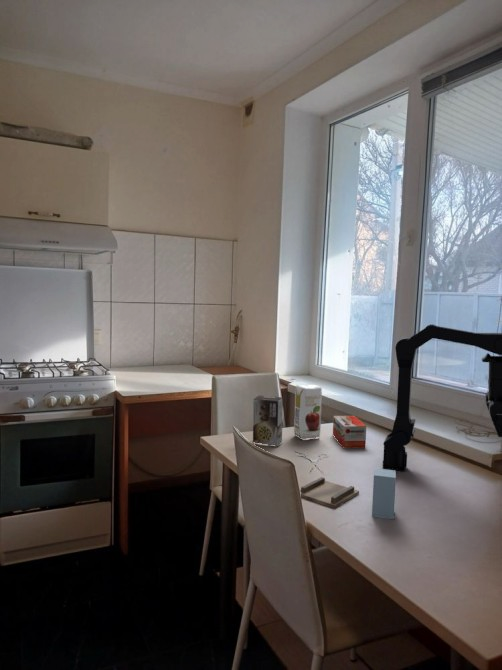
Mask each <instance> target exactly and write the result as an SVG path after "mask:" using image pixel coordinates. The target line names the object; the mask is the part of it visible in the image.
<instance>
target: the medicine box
mask: <svg viewBox="0 0 502 670" xmlns="http://www.w3.org/2000/svg"><path fill="white" fill-rule="evenodd" d="M332 422H333V423H332V436H333V435H334V436H335V438H336V439H337V440H338V441H337V440H336V439H335V438H334V439H335V440H336V441H337V443H338V442H339V443H340V444H341V445H342V446H341V445H340V444H339V443H338V444H339V445H340V446H341V447H342V448H343V447H344V448H343V449H366V442H367V440H366V439H367V438H366V437H367V424H365V423H364V422H362V420H360V419H359V418H358V417H356V416H355V415H333V421H332Z"/></svg>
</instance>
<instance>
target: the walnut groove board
mask: <svg viewBox="0 0 502 670" xmlns="http://www.w3.org/2000/svg"><path fill="white" fill-rule="evenodd" d="M300 492H301V497H300V498H303V499H305V498H306V500H308V499H309V501H312V502H314V503H318V504H320V505H323V506H327V507H329V508H333V509H337V508H338V507H340V506H341V505H343V504H345V503H346V502H348V501H349V500H351V499H353V498H354V497H356V496H357V495H359V494H360V490H357V489H355V486H353V485H350V486H345V485H340V484H338V483H334V482H330V481H328V480H326V478H325V477H323V476H321V477H318V479H316V480H313V481H311V482H309V483H307V484H305V485H303V486H301V487H300Z"/></svg>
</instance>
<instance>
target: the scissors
mask: <svg viewBox="0 0 502 670" xmlns="http://www.w3.org/2000/svg"><path fill="white" fill-rule="evenodd" d="M325 454H326V455H325V456H324V455H320V456H321V457H322V456H323V457H326V458H328V457H329V455H328V453H325ZM327 456H328V457H327ZM321 457H319V458H316V459H312V458H310V460H311V461H314V462H313V463H317V464H318V461H319V460H318V459H320V460H322V458H321ZM310 460H309V461H310ZM311 461H310V462H311ZM319 469H320V470H319ZM319 469H318V470H319V472H321V474H324V472H323V470H322V468H320V466H319Z"/></svg>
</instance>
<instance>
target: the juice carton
mask: <svg viewBox="0 0 502 670" xmlns="http://www.w3.org/2000/svg"><path fill="white" fill-rule="evenodd" d="M322 391H323V390H322V387H321V386H319V385H316V384H305V385H302V384H296V387H295V392H294V393H295V394H294V397H295V398H294V416H293V417H294V421H293V424H294V425H293V433H294V436H295V435H297V436H299V437H300V438H302V439H306V438H316V437H319V438H320V437H321V436H320V435H321V423H322V422H321V421H322V401H323V400H322V399H323V397H322V395H323V393H322Z"/></svg>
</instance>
